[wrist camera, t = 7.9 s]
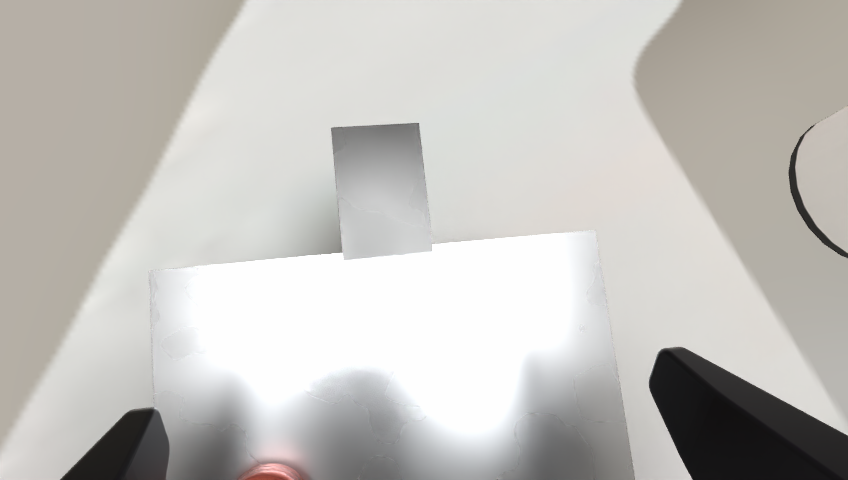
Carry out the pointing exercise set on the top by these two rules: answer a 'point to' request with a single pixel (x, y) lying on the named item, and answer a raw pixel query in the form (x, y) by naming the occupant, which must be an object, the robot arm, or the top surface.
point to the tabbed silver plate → (391, 348)
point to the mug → (823, 180)
